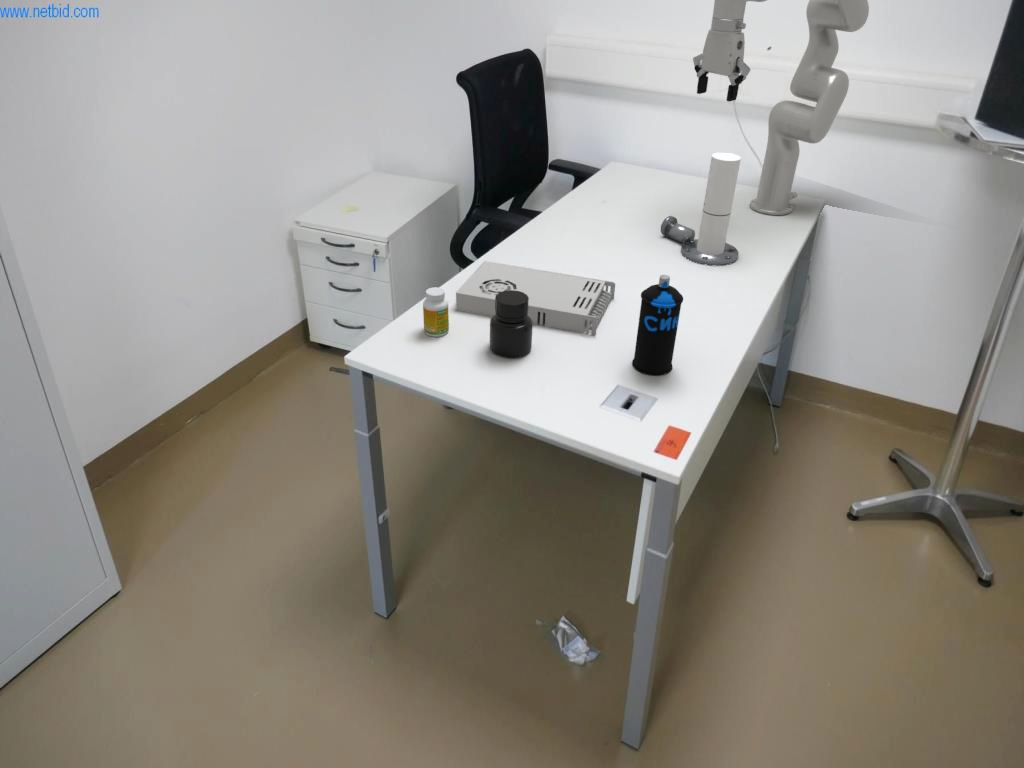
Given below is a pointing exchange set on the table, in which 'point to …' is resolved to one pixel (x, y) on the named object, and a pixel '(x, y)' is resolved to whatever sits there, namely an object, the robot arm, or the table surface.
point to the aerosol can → (657, 328)
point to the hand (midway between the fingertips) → (716, 96)
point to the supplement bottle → (435, 312)
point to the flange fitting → (695, 244)
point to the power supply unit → (539, 295)
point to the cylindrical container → (718, 202)
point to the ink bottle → (511, 325)
